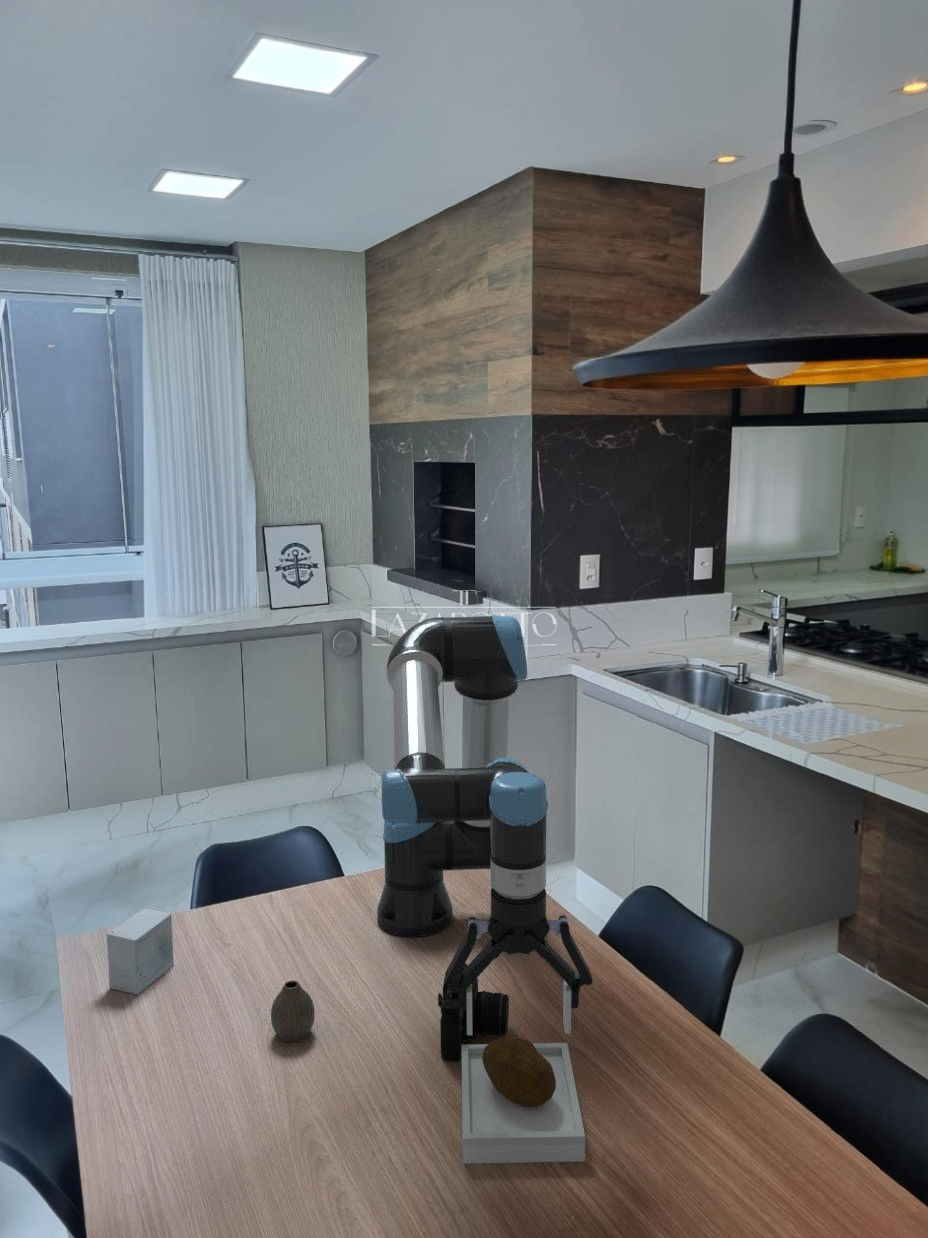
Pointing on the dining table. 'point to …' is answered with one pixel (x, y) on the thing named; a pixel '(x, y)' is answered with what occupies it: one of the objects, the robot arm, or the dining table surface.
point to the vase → (292, 1012)
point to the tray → (520, 1115)
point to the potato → (519, 1071)
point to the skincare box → (140, 951)
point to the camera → (486, 1018)
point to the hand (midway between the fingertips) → (518, 1029)
